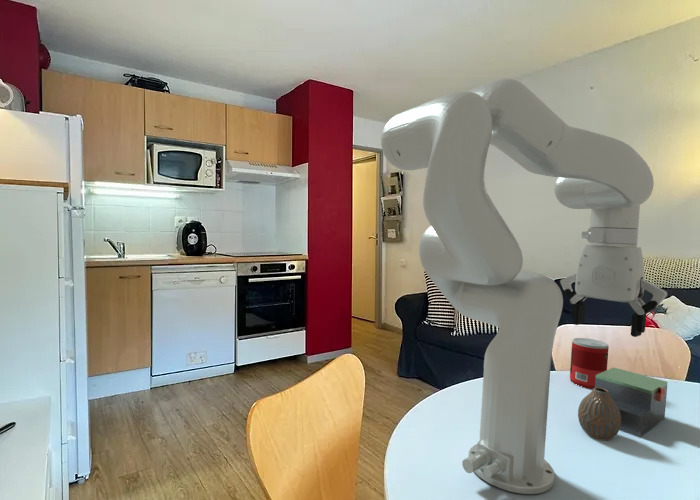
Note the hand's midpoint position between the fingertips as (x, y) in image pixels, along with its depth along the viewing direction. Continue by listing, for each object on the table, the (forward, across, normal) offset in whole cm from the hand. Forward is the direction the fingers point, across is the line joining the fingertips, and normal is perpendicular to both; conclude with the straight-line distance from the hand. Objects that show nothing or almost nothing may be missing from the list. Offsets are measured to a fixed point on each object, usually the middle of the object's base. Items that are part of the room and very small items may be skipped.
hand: (605, 329), depth 74 cm
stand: (+20, 0, +13) cm, 24 cm away
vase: (+20, 0, 0) cm, 20 cm away
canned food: (+21, -13, +27) cm, 36 cm away
